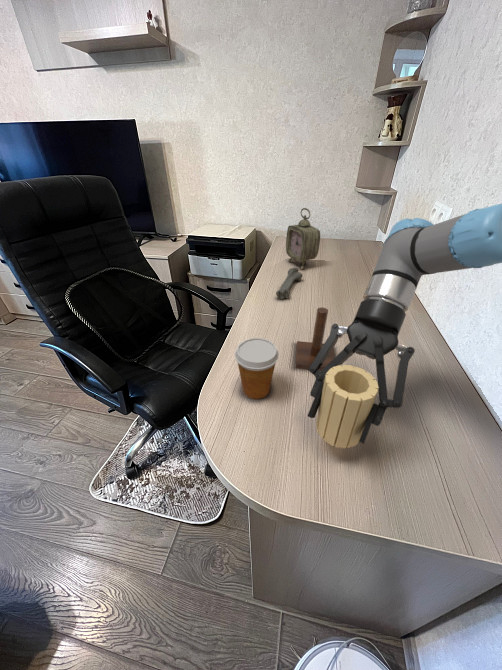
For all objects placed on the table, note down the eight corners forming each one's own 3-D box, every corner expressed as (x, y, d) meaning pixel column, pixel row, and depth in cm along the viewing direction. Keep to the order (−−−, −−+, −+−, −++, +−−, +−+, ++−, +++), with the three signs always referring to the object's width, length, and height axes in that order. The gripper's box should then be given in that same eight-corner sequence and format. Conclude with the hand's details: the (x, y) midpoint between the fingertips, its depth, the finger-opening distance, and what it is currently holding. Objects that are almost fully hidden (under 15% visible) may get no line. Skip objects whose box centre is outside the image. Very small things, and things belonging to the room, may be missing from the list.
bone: (288, 277, 120) (288, 264, 116) (303, 279, 118) (304, 265, 114) (272, 299, 103) (273, 284, 100) (289, 302, 101) (291, 287, 98)
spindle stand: (335, 372, 71) (346, 322, 62) (295, 368, 72) (301, 319, 63) (332, 348, 79) (341, 301, 70) (296, 345, 80) (302, 298, 71)
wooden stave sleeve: (364, 451, 47) (383, 403, 40) (316, 444, 48) (327, 396, 41) (357, 414, 54) (372, 367, 47) (315, 408, 55) (324, 362, 48)
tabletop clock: (284, 261, 136) (288, 206, 121) (300, 258, 139) (305, 204, 124) (301, 271, 125) (307, 212, 110) (317, 268, 128) (325, 210, 114)
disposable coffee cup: (266, 371, 71) (267, 332, 64) (283, 397, 64) (286, 357, 57) (231, 381, 68) (228, 341, 61) (244, 409, 61) (243, 368, 54)
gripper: (448, 330, 47) (400, 458, 45) (329, 298, 57) (286, 402, 55) (459, 317, 40) (404, 466, 38) (323, 283, 50) (274, 401, 48)
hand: (335, 428), depth 47 cm, fingers closed on wooden stave sleeve, 8 cm apart
